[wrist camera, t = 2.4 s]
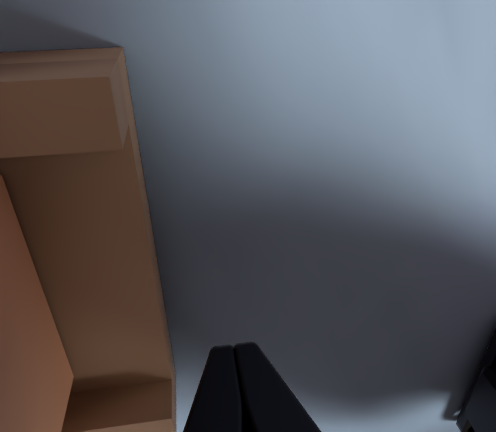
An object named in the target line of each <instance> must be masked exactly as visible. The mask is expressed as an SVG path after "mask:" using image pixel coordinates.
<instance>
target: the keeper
mask: <svg viewBox="0 0 496 432" xmlns="http://www.w3.org/2000/svg"><path fill="white" fill-rule="evenodd" d="M73 378H74V375H73V373H72V370H71V367H70V364H69V361H68V359H67V356H66V353H65V350H64V347H63V345H62V342H61V339H60V336H59V334H58V331H57V328H56V325H55V322H54V320H53V317H52V314H51V311H50V308H49V306H48V303H47V300H46V297H45V294H44V292H43V289H42V286H41V283H40V281H39V278H38V275H37V272H36V269H35V267H34V264H33V261H32V258H31V255H30V253H29V250H28V247H27V244H26V241H25V239H24V236H23V233H22V230H21V228H20V225H19V222H18V219H17V216H16V214H15V211H14V208H13V205H12V202H11V200H10V197H9V194H8V191H7V188H6V186H5V183H4V180H3V177H2V175H0V432H61V430H62V426H63V422H64V417H65V413H66V408H67V404H68V400H69V395H70V391H71V386H72V382H73Z"/></svg>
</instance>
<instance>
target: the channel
mask: <svg viewBox="0 0 496 432" xmlns="http://www.w3.org/2000/svg"><path fill="white" fill-rule="evenodd" d="M0 175H2V177H3V180H4V183H5V186H6V188H7V191H8V194H9V197H10V200H11V202H12V205H13V208H14V211H15V214H16V216H17V219H18V222H19V225H20V228H21V230H22V233H23V236H24V239H25V241H26V244H27V247H28V250H29V253H30V255H31V258H32V261H33V264H34V267H35V269H36V272H37V275H38V278H39V281H40V283H41V286H42V289H43V292H44V294H45V297H46V300H47V303H48V306H49V308H50V311H51V314H52V317H53V320H54V322H55V325H56V328H57V331H58V334H59V336H60V339H61V342H62V345H63V347H64V350H65V353H66V356H67V359H68V361H69V364H70V367H71V370H72V373H73V375H74V378H73V382H72V386H71V391H70V395H69V400H68V404H67V408H66V413H65V417H64V422H63V426H62V430H61V432H176V374H175V368H174V362H173V356H172V349H171V343H170V337H169V331H168V324H167V318H166V312H165V306H164V300H163V293H162V287H161V281H160V275H159V268H158V262H157V256H156V250H155V243H154V237H153V231H152V225H151V218H150V212H149V206H148V200H147V194H146V187H145V181H144V175H143V169H142V162H141V156H140V150H139V144H138V137H137V131H136V125H135V119H134V112H133V106H132V100H131V94H130V88H129V81H128V75H127V69H126V63H125V56H124V50H123V47H114V48H91V49H68V50H44V51H21V52H0Z"/></svg>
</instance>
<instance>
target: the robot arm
mask: <svg viewBox="0 0 496 432" xmlns="http://www.w3.org/2000/svg"><path fill="white" fill-rule="evenodd" d="M456 424H457V426H458V428H459V429H460V431H461V432H496V329H495V331H494V334H493V336H492V339H491V341H490V343H489V346H488V348H487V350H486V353H485V355H484V358H483V360H482V362H481V365H480V367H479V369H478V372H477V374H476V377H475V379H474V381H473V384H472V386H471V388H470V391H469V393H468V396H467V398H466V400H465V403H464V405H463V407H462V410H461V412H460V415H459V417H458V419H457V423H456ZM183 432H321V431H320V429H319V428H318V427H317V425H316V424H315V422H314V421H313V420H312V418H311V417H310V416H309V414H308V413H307V412H306V410H305V409H304V408H303V406H302V405H301V403H300V402H299V401H298V399H297V398H296V397H295V395H294V394H293V393H292V391H291V390H290V389H289V387H288V386H287V385H286V383H285V382H284V380H283V379H282V378H281V376H280V375H279V374H278V372H277V371H276V370H275V368H274V367H273V366H272V364H271V363H270V361H269V360H268V359H267V357H266V356H265V355H264V353H263V352H262V351H261V349H260V348H259V347H258V345H257V344H256V343H254V342H246V343H238V344H236V345H235V346H234V348H233V346H232V345H222V346H215V347H213V348H212V349H211V350H210V353H209V356H208V359H207V362H206V365H205V368H204V371H203V374H202V377H201V380H200V383H199V386H198V389H197V392H196V395H195V398H194V401H193V404H192V407H191V410H190V413H189V416H188V419H187V422H186V425H185V427H184V430H183Z"/></svg>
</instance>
